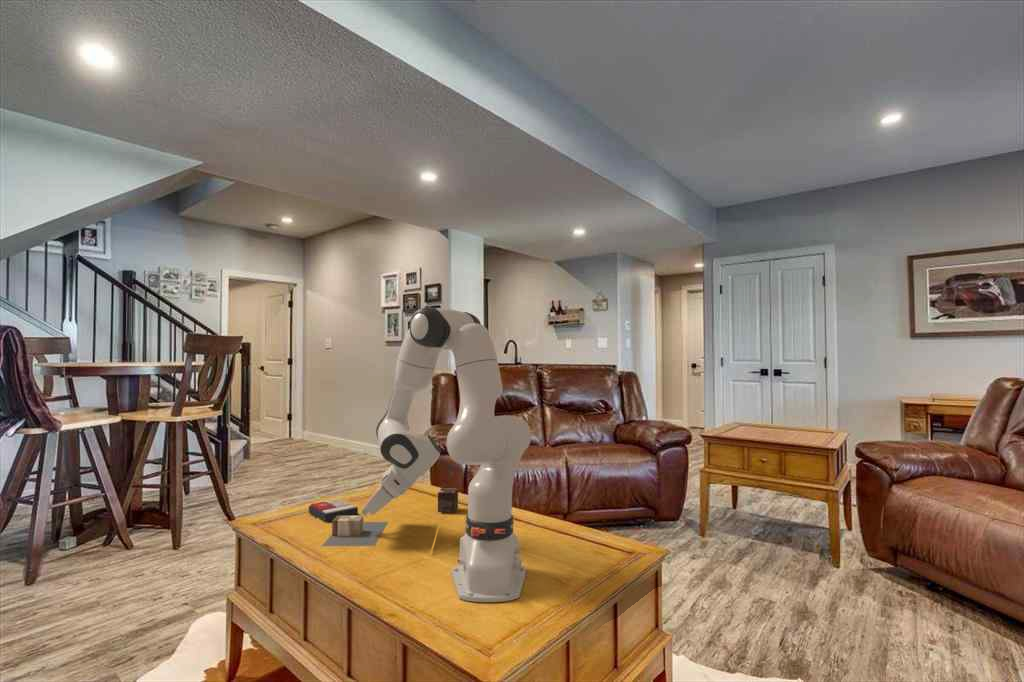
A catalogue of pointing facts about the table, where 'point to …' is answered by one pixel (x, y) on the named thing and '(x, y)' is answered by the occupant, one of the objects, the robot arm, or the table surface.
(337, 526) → the block
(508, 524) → the robot arm
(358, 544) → the mat
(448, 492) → the box
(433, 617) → the table surface
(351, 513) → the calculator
